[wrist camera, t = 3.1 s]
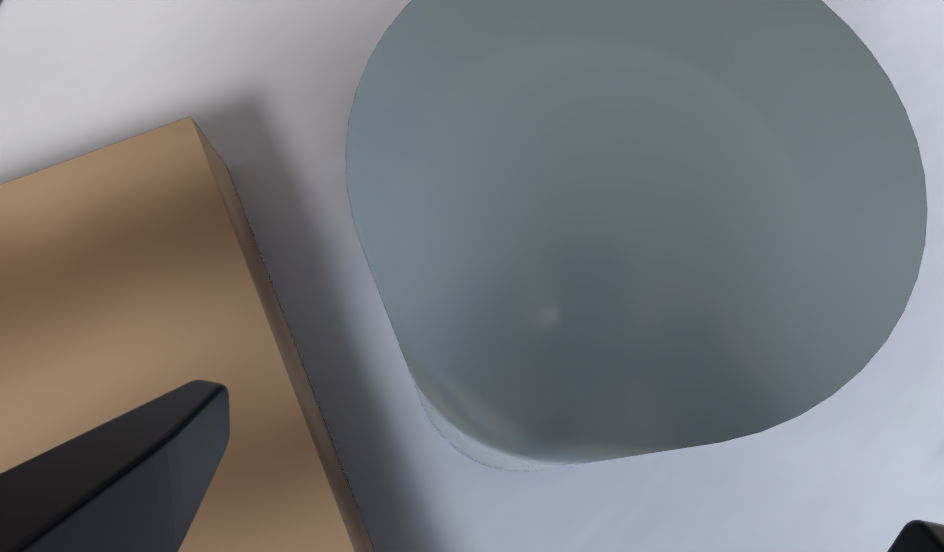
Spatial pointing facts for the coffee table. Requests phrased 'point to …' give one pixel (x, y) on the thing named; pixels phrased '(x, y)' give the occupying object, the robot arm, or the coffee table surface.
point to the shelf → (163, 334)
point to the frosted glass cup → (631, 217)
